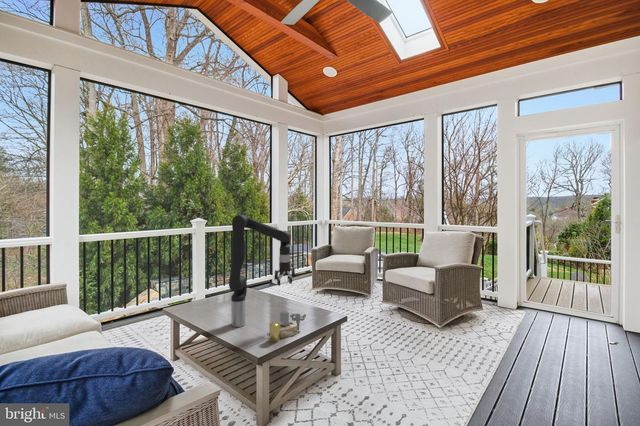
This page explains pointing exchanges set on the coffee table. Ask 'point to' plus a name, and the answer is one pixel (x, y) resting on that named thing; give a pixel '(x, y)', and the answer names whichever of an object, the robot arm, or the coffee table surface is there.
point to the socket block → (288, 330)
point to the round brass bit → (274, 332)
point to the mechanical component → (298, 318)
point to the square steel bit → (284, 319)
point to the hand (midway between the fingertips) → (284, 284)
